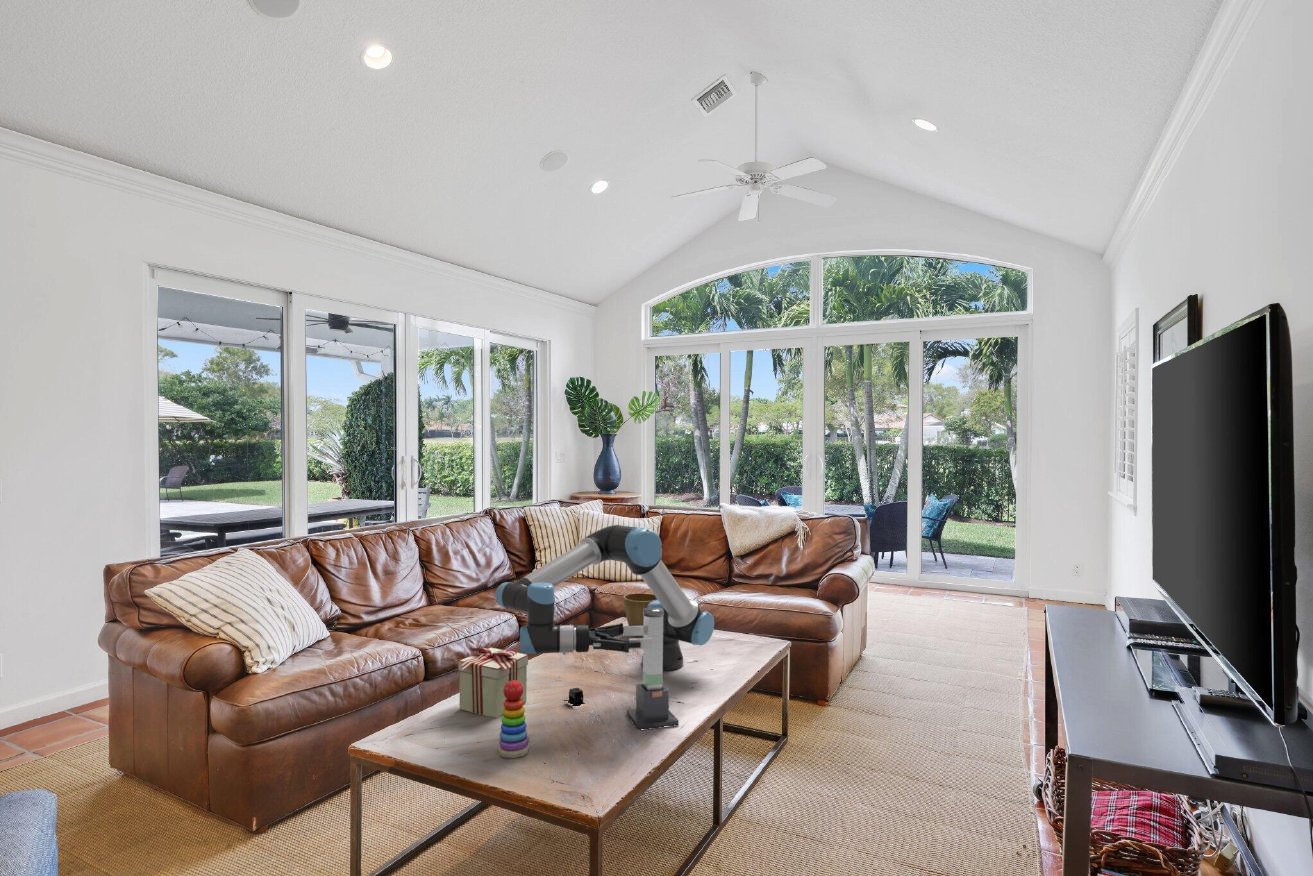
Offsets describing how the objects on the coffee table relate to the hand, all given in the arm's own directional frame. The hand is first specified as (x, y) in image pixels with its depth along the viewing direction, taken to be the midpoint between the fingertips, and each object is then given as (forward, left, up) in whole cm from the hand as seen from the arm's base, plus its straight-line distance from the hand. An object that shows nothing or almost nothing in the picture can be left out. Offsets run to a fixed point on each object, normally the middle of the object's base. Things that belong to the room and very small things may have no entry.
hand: (648, 636), depth 205 cm
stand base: (-1, 0, -24) cm, 24 cm away
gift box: (+42, -23, -25) cm, 54 cm away
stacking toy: (+40, +10, -25) cm, 48 cm away
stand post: (-1, 0, -18) cm, 18 cm away
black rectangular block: (+17, -20, -25) cm, 36 cm away
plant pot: (-25, -87, -25) cm, 94 cm away
